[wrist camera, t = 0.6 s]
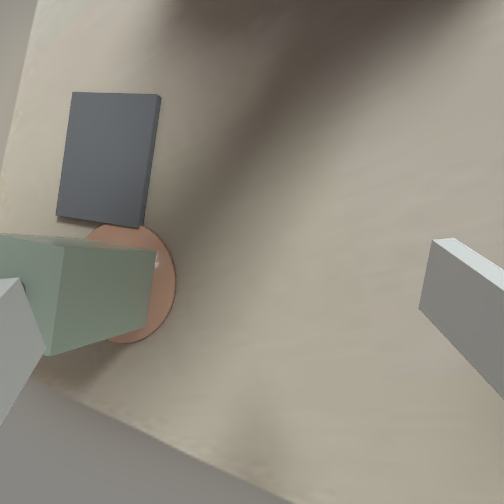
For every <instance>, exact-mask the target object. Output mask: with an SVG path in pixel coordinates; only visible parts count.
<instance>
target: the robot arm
mask: <svg viewBox="0 0 504 504" xmlns="http://www.w3.org/2000/svg"><path fill="white" fill-rule="evenodd" d="M419 309H420V310H421V311H422V312H423V314H424V315H425V316H426V317H427V318H428V319H429V320H430V321H431V322H432V323H433V324H434V325H435V326H436V327H437V329H438V330H439V331H440V332H441V333H442V334H443V335H444V336H445V337H446V338H447V339H448V340H449V341H450V342H451V344H452V345H453V346H454V347H455V348H456V349H457V350H458V351H459V352H460V353H461V354H462V355H463V356H464V357H465V358H466V360H467V361H468V362H469V363H470V364H471V365H472V366H473V367H474V368H475V369H476V370H477V371H478V372H479V373H480V375H481V376H482V377H483V378H484V379H485V380H486V381H487V382H488V383H489V384H490V385H491V386H492V387H493V388H494V390H495V391H496V392H497V393H498V394H499V395H500V396H501V397H502V398H503V399H504V270H503V269H502V268H500V267H499V266H497V265H495V264H494V263H492V262H491V261H489V260H488V259H486V258H484V257H483V256H481V255H480V254H478V253H477V252H475V251H473V250H472V249H470V248H469V247H467V246H466V245H464V244H462V243H461V242H459V241H458V240H456V239H455V238H447V239H436V240H432V243H431V248H430V253H429V258H428V263H427V268H426V273H425V278H424V283H423V288H422V293H421V299H420V304H419ZM45 350H46V346H45V344H44V341H43V339H42V336H41V333H40V331H39V328H38V325H37V323H36V320H35V317H34V315H33V312H32V309H31V307H30V304H29V301H28V299H27V296H26V293H25V291H24V288H23V285H22V283H21V280H20V278H19V277H18V278H7V279H0V427H1V425H2V423H3V422H4V420H5V418H6V416H7V415H8V413H9V411H10V410H11V408H12V406H13V405H14V403H15V401H16V399H17V398H18V396H19V394H20V392H21V391H22V389H23V387H24V386H25V384H26V382H27V381H28V379H29V377H30V376H31V374H32V372H33V370H34V369H35V367H36V365H37V364H38V362H39V360H40V358H41V357H42V355H43V353H44V352H45Z"/></svg>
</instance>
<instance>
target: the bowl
mask: <svg viewBox="0 0 504 504" xmlns="http://www.w3.org/2000/svg"><path fill="white" fill-rule="evenodd" d="M85 239H91V240H99V241H104V242H110V243H116V244H121V245H127V246H133V247H138V248H144V249H150V250H156V251H157V254H156V261H155V268H154V274H153V281H152V288H151V295H150V302H149V309H148V316H147V322H146V327H144V328H140V329H137V330H134V331H131V332H128V333H125V334H121V335H118V336H115V337H112V338H109V339H106V340H107V341H110V342H115V343H130V342H134V341H138V340H140V339H143V338H145V337H147V336H149V335H150V334H152V333H153V332H154V331H156V330H157V329H158V328H159V327H160V326H161V324H162V323H163V322H164V321H165V319H166V318H167V316H168V314H169V312H170V310H171V308H172V305H173V302H174V298H175V293H176V273H175V267H174V263H173V260H172V257H171V255H170V253H169V251H168V249H167V247H166V246H165V244H164V243H163V242H162V240H161V239H160V238H159V237H158V236H157V235H156V234H155V233H154V232H152V231H151V230H150V229H148V228H146V227H144V226H139V228H134V227H127V226H121V225H114V224H105V225H103V226H100V227H99V228H97V229H95V230H94V231H93V232H92V233H90V234H89V235H88V236H87V237H86V238H85Z"/></svg>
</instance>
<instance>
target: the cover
mask: <svg viewBox="0 0 504 504" xmlns="http://www.w3.org/2000/svg"><path fill="white" fill-rule="evenodd" d="M156 254H157V251H156V250H150V249H144V248H138V247H133V246H127V245H121V244H116V243H110V242H104V241H99V240H91V239H77V238H63V237H49V236H35V235H21V234H7V233H0V279H7V278H18V277H19V278H20V280H21V283H22V285H23V288H24V291H25V293H26V296H27V299H28V301H29V304H30V307H31V309H32V312H33V315H34V317H35V320H36V323H37V325H38V328H39V331H40V333H41V336H42V339H43V341H44V344H45V346H46V350H45V352H44V353H43V355H45V356H48V357H52V356H55V355H58V354H61V353H64V352H67V351H71V350H74V349H77V348H80V347H83V346H86V345H90V344H93V343H96V342H99V341H102V340H106V339H109V338H112V337H115V336H118V335H121V334H125V333H128V332H131V331H134V330H137V329H140V328H144V327H146V322H147V316H148V309H149V302H150V295H151V288H152V281H153V274H154V268H155V261H156Z"/></svg>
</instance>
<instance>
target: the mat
mask: <svg viewBox="0 0 504 504" xmlns="http://www.w3.org/2000/svg"><path fill="white" fill-rule="evenodd" d="M160 104H161V97H160V96H159V95H157V94H124V93H89V92H72V100H71V107H70V114H69V122H68V129H67V136H66V143H65V151H64V158H63V165H62V172H61V180H60V187H59V194H58V202H57V209H56V215H57V216H63V217H70V218H76V219H83V220H89V221H95V222H102V223H108V224H114V225H121V226H127V227H134V228H139V226H143V221H144V215H145V208H146V201H147V194H148V187H149V180H150V173H151V166H152V159H153V152H154V145H155V138H156V132H157V125H158V118H159V111H160Z"/></svg>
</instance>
